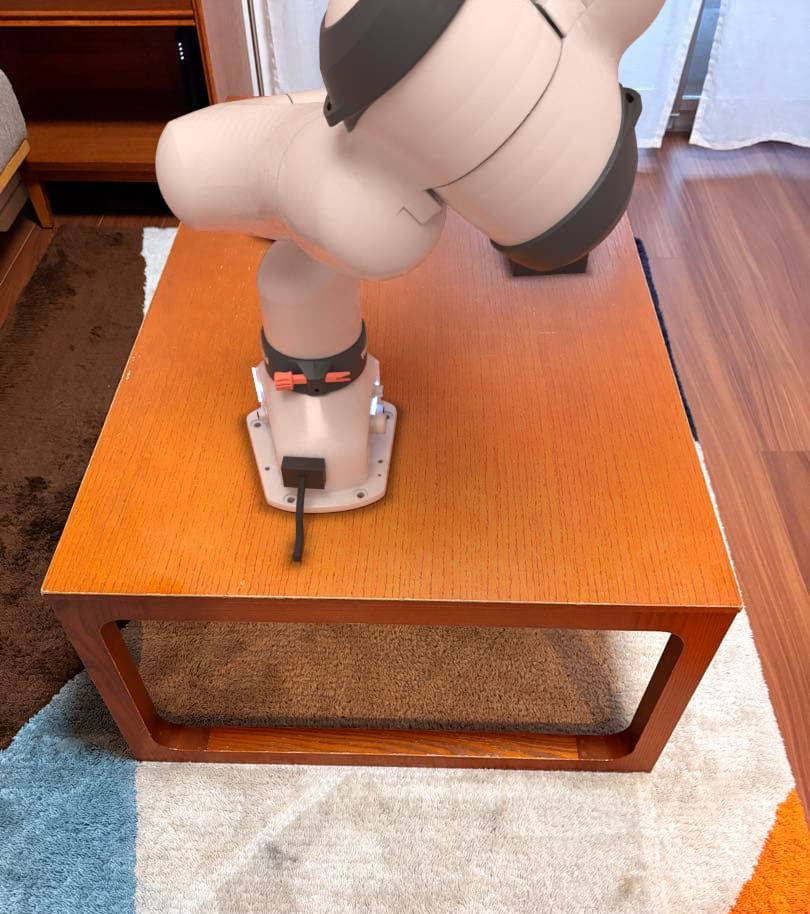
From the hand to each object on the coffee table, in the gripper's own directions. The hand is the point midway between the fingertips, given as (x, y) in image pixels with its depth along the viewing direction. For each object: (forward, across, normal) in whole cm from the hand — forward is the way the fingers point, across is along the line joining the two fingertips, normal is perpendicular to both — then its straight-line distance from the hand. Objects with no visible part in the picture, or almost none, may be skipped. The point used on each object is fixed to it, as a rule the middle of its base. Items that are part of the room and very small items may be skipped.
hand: (520, 54), depth 90 cm
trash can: (+34, +14, -10) cm, 38 cm away
